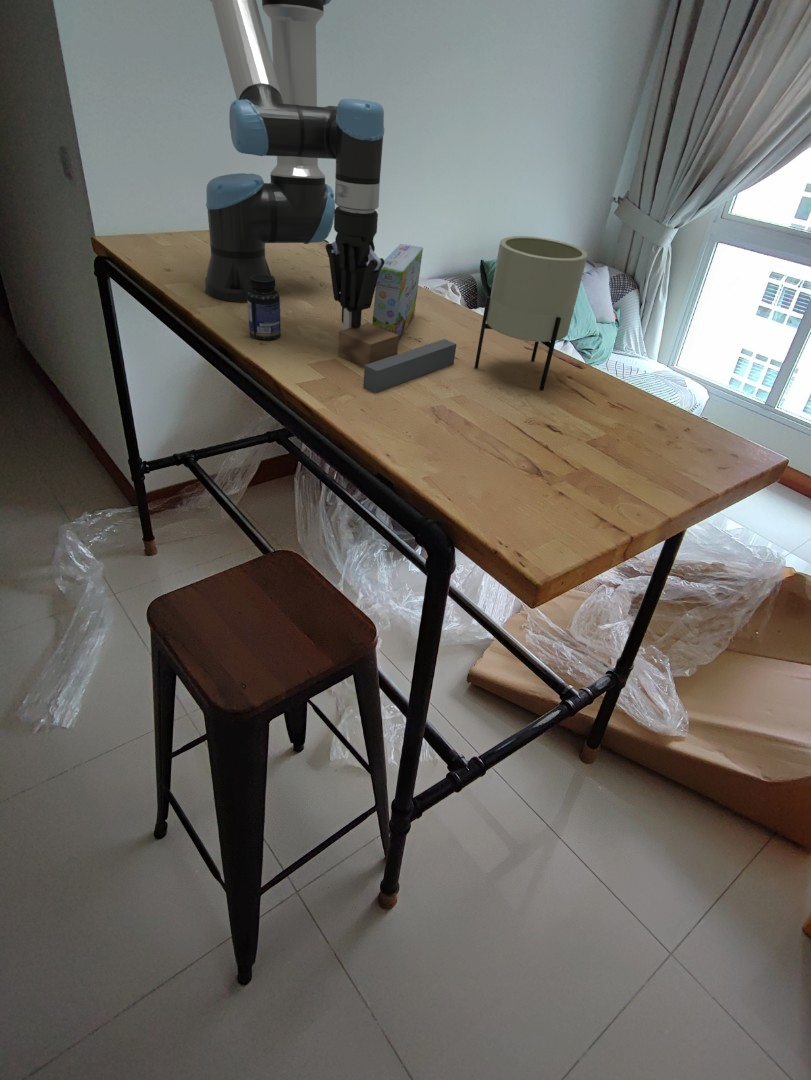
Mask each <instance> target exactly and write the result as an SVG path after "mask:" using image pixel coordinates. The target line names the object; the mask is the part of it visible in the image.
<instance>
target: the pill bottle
mask: <svg viewBox="0 0 811 1080" xmlns="http://www.w3.org/2000/svg"><path fill="white" fill-rule="evenodd" d="M250 284H251V286H252V289H250V290H249V291H248V293H247V300H248V302H247V314H248V332H249V335H250V337H252V338H253V337H254V338H253V339H256V338H257V340H260V339H263V340H262V341H272V339H273V340H276V339H278V338H280V336H281V330H282V329H281V325H282V324H281V298H280V297H281V296H280V292H278V290H276V289H275V287H277V286H276V285H277V281H276V278H275V276H272V275H271V276H270V275H253V276H251V277H250Z"/></svg>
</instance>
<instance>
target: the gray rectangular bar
mask: <svg viewBox="0 0 811 1080" xmlns="http://www.w3.org/2000/svg"><path fill="white" fill-rule="evenodd" d="M456 349H457V343H455V342H453V341H450V340H448V339H446V338H443V339H441V340H437V341H434V342H432V343H431V342H430V343H428V344H425V345H421V346H419V347H416V348H413V349H409V350H406V351H402V352H400V353H397V355H394V356H391V357H388V358H385V359H382V360H379V361H376V362H373V363H370V364H367V365H365V367H364V368H363V384H362V385H363V388H365V389H366V390H368V391H370V392H373V393H378V392H382V391H384V390H387V389H390V388H392V387H395V386H397V385H401V384H403V383H406V382H409V381H411V380H414V379H417V378H419V377H422V376H424V375H427V374H429V373H432V372H434V371H435V372H436V371H438V370H441V369H443V368H446V367H448V366H452V365H454V364H455V357H456Z"/></svg>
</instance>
